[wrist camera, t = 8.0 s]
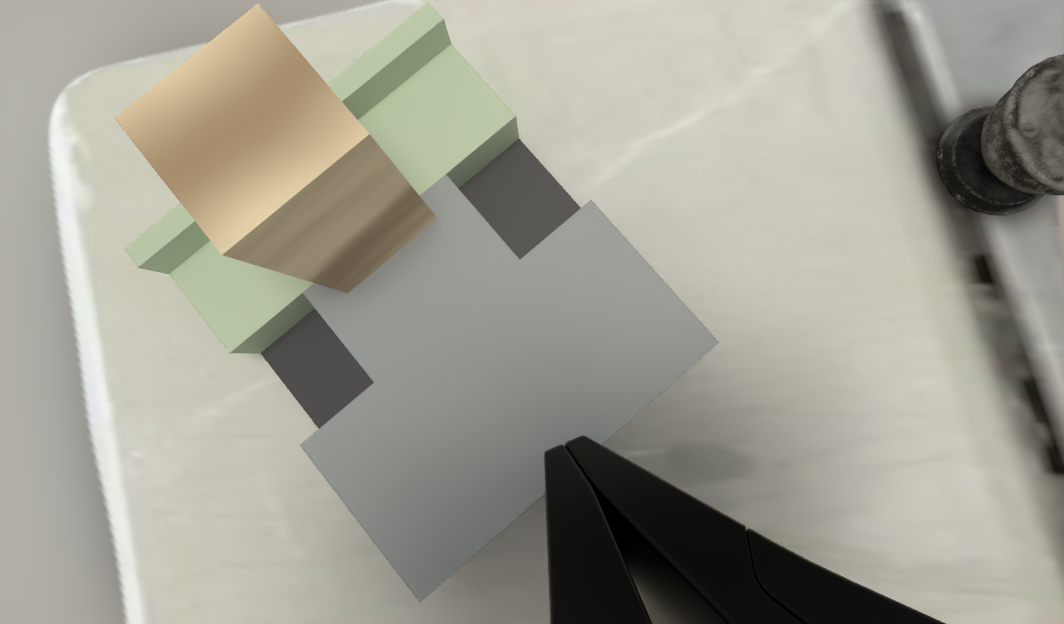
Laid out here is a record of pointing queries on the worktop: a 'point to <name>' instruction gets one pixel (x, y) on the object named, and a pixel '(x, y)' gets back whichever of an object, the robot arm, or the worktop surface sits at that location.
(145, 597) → the worktop surface
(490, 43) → the worktop surface
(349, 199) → the beech block
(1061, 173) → the salt shaker
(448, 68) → the board
